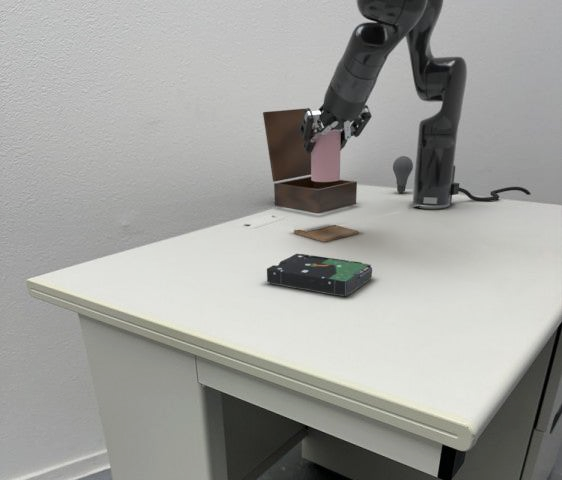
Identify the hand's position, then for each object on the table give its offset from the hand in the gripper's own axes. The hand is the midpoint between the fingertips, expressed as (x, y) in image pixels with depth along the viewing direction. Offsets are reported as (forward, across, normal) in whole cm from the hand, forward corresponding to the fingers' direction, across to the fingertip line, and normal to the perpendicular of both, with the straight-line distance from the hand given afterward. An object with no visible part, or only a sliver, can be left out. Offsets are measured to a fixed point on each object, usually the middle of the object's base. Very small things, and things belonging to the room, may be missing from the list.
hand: (322, 149), depth 113 cm
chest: (+28, -10, -4) cm, 30 cm away
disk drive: (-9, +15, +34) cm, 38 cm away
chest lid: (+23, -6, -21) cm, 32 cm away
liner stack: (+3, 0, +5) cm, 6 cm away
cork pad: (+10, 0, +14) cm, 17 cm away
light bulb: (+32, -39, -8) cm, 51 cm away
